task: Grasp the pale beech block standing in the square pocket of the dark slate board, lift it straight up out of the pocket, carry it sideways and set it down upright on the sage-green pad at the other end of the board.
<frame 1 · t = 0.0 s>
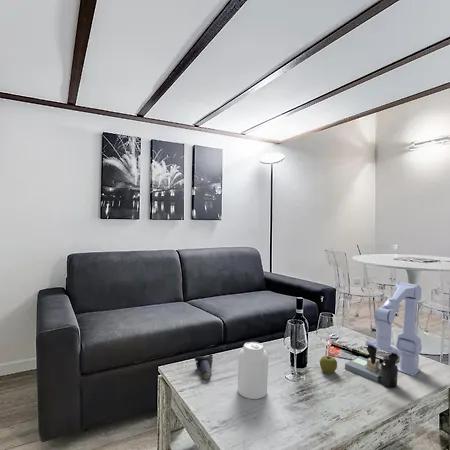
hand: (382, 366, 139), 10 cm above the table, fingers open, 7 cm apart
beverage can: (205, 374, 150), on the table
pocket board: (367, 370, 157), on the table
supplement bottle: (388, 384, 144), on the table
apple: (328, 372, 154), on the table
can: (252, 391, 136), on the table
beech block: (372, 373, 154), resting in pocket board
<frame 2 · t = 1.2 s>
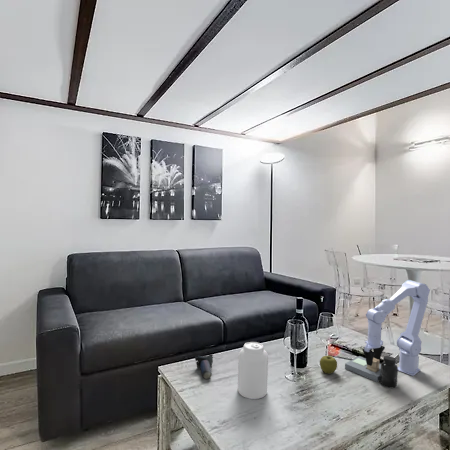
hand: (373, 362, 153), 5 cm above the table, fingers open, 7 cm apart
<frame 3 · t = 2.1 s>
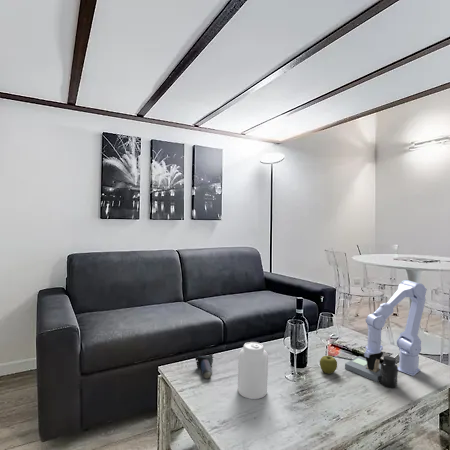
hand: (373, 367, 154), 3 cm above the table, fingers closed on beech block, 4 cm apart
beech block: (372, 373, 154), resting in pocket board, touching gripper
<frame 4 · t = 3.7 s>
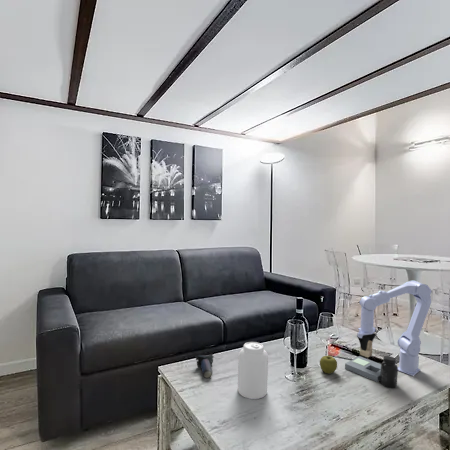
hand: (365, 348, 157), 10 cm above the table, fingers closed on beech block, 4 cm apart
beech block: (365, 355, 157), point 7 cm above the table, touching gripper
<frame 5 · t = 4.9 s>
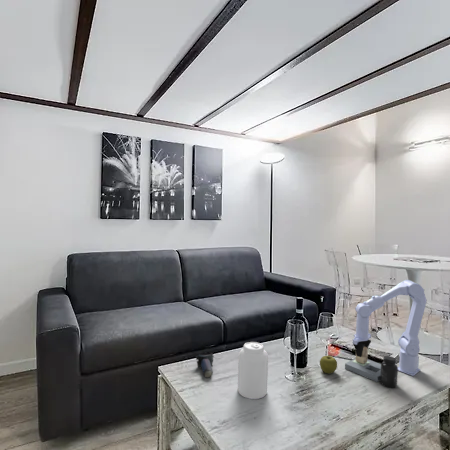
hand: (361, 355, 160), 6 cm above the table, fingers closed on beech block, 4 cm apart
beech block: (361, 361, 160), point 3 cm above the table, touching gripper
when the fingers open (6 cm above the table, at t = 5.5 s): beech block stays where it is, resting on pocket board.
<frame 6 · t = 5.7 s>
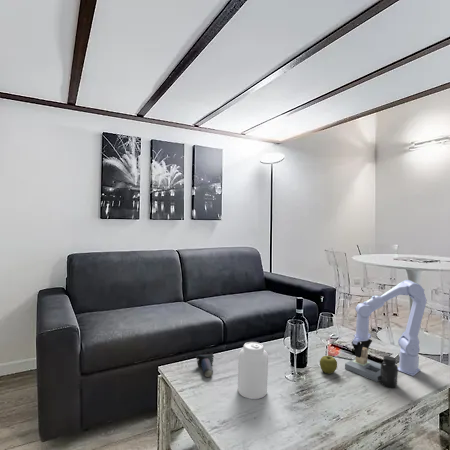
hand: (361, 355, 160), 6 cm above the table, fingers open, 6 cm apart
beech block: (361, 361, 160), point 3 cm above the table, touching pocket board
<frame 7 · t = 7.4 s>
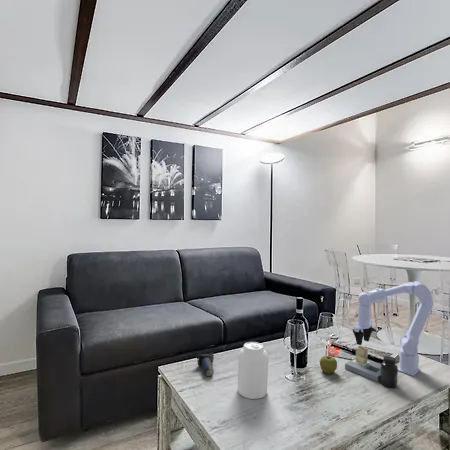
hand: (362, 342, 165), 10 cm above the table, fingers open, 7 cm apart
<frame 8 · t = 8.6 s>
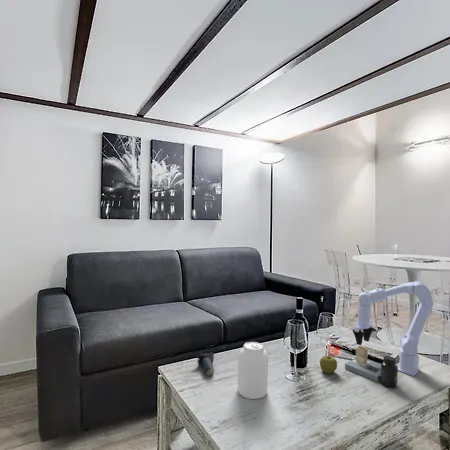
hand: (362, 342, 165), 10 cm above the table, fingers open, 7 cm apart
at the end: beech block 0.1 cm from the target spot on the pocket board, point 2.6 cm above the pocket board's base; beech block tilted 0°; the gripper is holding nothing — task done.
